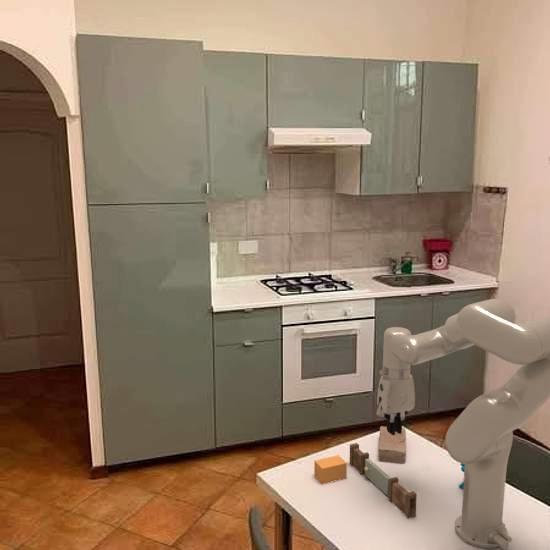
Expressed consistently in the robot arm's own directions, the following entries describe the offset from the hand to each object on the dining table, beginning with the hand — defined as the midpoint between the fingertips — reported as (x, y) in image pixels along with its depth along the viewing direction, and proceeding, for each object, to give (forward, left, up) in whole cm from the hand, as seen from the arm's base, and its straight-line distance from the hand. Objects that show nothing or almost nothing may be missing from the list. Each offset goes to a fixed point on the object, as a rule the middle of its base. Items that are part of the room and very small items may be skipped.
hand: (394, 432), depth 166 cm
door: (-1, +6, -15) cm, 16 cm away
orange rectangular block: (+9, +16, -15) cm, 24 cm away
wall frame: (-2, +6, -15) cm, 16 cm away
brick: (+15, -10, -16) cm, 24 cm away
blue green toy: (-13, -18, -15) cm, 27 cm away
